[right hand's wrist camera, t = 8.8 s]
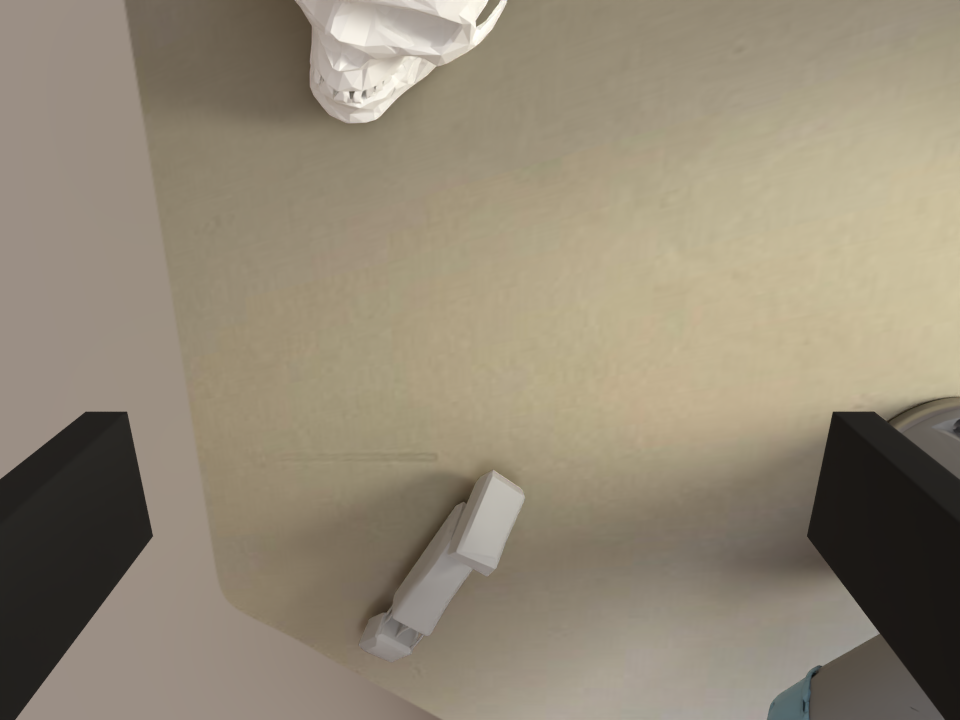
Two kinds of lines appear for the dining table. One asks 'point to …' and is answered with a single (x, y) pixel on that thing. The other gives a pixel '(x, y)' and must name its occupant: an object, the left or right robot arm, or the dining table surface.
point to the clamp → (446, 566)
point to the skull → (385, 48)
